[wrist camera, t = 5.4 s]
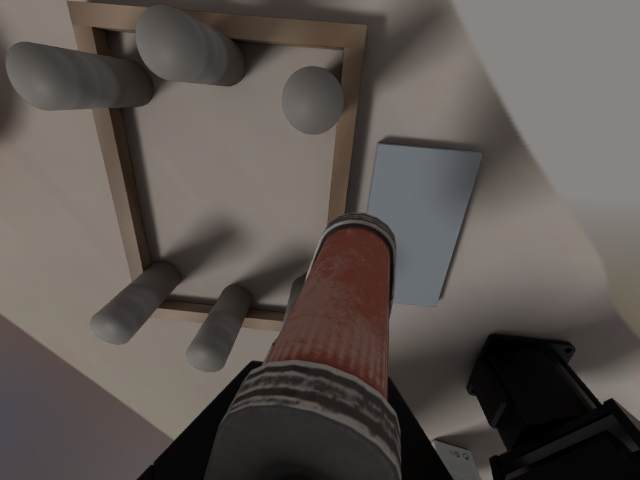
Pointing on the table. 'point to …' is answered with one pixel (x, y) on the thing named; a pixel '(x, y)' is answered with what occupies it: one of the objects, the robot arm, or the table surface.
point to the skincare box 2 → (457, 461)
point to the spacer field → (136, 90)
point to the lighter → (323, 373)
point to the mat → (422, 212)
